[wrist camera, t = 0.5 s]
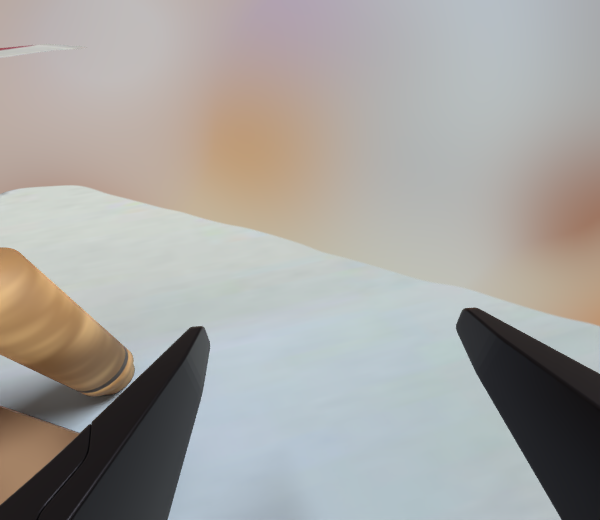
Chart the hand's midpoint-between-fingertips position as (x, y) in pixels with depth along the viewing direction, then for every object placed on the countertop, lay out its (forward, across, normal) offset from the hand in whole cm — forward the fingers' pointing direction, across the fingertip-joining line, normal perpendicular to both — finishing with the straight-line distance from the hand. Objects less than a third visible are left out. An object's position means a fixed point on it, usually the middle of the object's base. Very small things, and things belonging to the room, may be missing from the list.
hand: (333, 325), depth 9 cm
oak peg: (+8, +18, +13) cm, 23 cm away
